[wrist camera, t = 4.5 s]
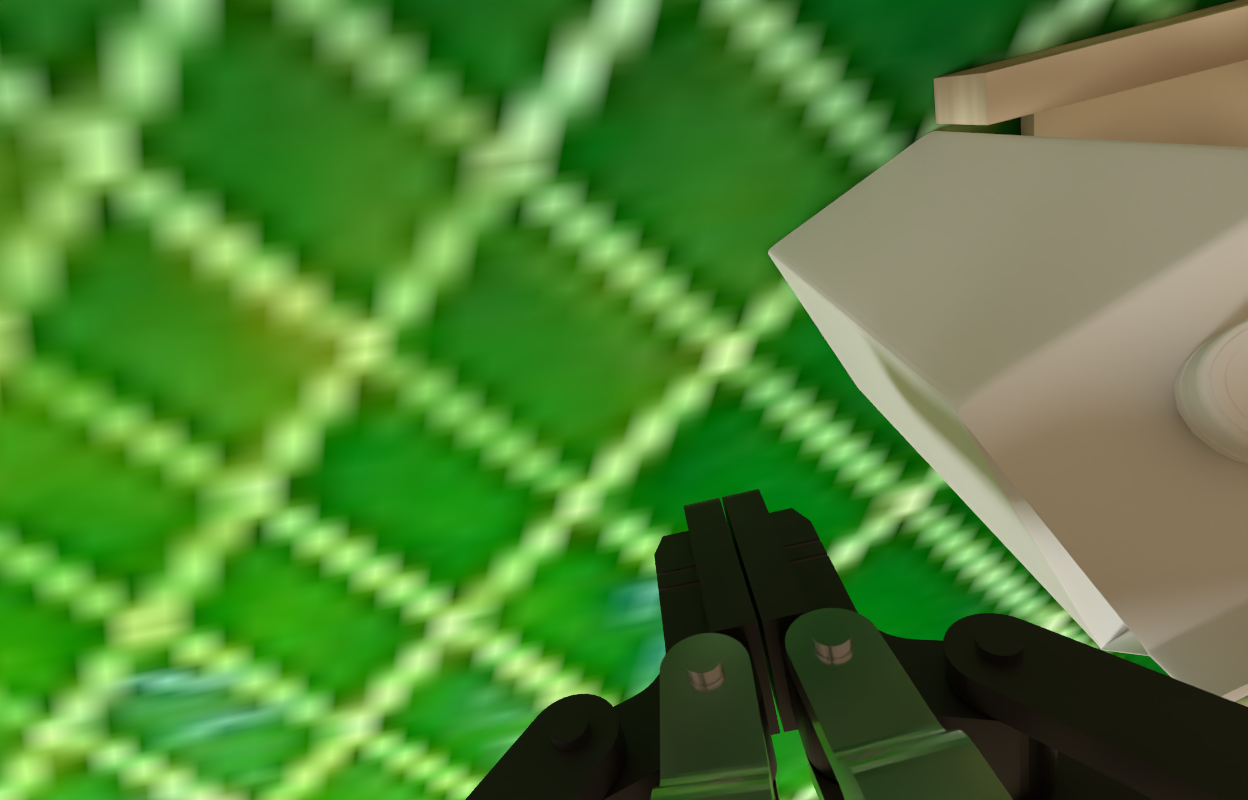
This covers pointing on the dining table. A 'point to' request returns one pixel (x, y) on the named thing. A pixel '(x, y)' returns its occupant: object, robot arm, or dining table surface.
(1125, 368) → the milk carton
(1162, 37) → the u rest
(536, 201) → the dining table surface
